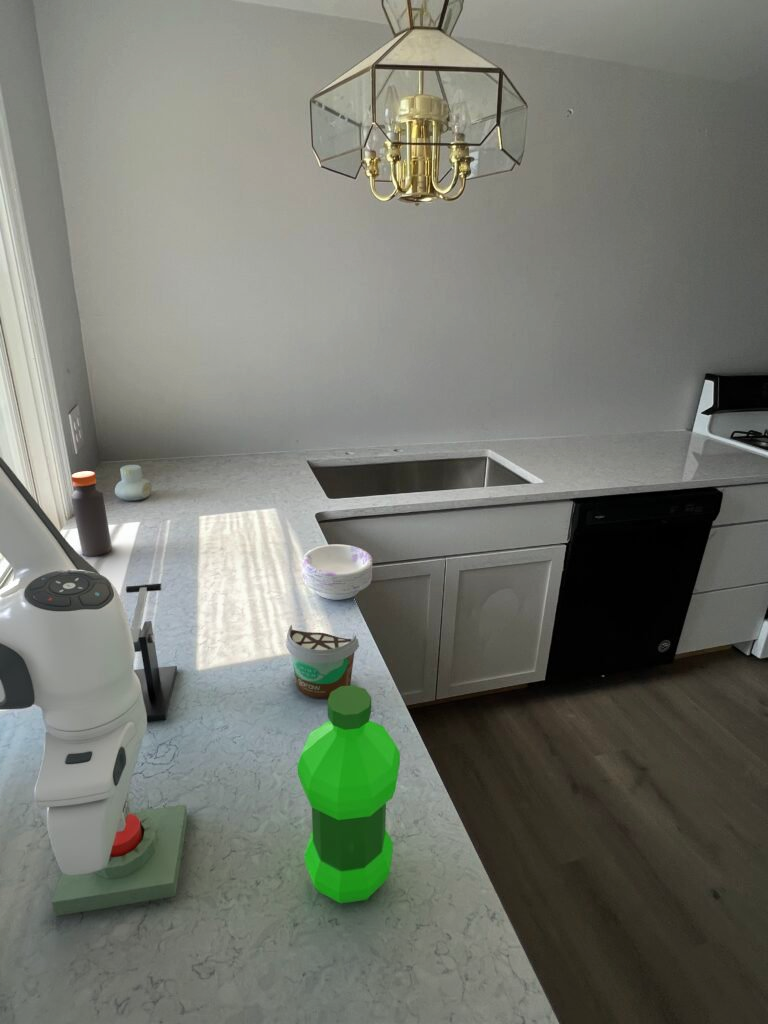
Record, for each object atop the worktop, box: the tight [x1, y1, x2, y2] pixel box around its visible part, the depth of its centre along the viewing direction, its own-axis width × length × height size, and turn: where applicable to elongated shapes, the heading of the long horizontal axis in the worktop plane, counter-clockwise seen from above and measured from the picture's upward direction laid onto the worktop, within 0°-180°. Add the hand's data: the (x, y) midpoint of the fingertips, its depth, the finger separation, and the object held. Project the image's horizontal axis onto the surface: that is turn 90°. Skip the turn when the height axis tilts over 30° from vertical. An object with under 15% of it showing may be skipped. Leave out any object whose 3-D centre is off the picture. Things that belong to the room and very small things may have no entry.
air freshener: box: [114, 464, 153, 502], centre depth 171 cm, size 11×8×10 cm
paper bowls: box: [302, 543, 373, 601], centre depth 122 cm, size 15×15×8 cm
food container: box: [285, 624, 360, 700], centre depth 90 cm, size 12×6×10 cm, turn 76°
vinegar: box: [70, 470, 113, 557], centre depth 135 cm, size 7×7×20 cm
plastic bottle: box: [296, 684, 401, 904], centre depth 59 cm, size 10×10×25 cm
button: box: [110, 814, 142, 857], centre depth 62 cm, size 4×4×2 cm
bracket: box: [134, 620, 178, 723], centre depth 87 cm, size 12×9×13 cm
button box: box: [51, 804, 189, 917], centre depth 63 cm, size 12×10×4 cm
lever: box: [125, 583, 163, 653], centre depth 90 cm, size 13×6×2 cm, turn 11°
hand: (119, 820), depth 62 cm, fingers closed
